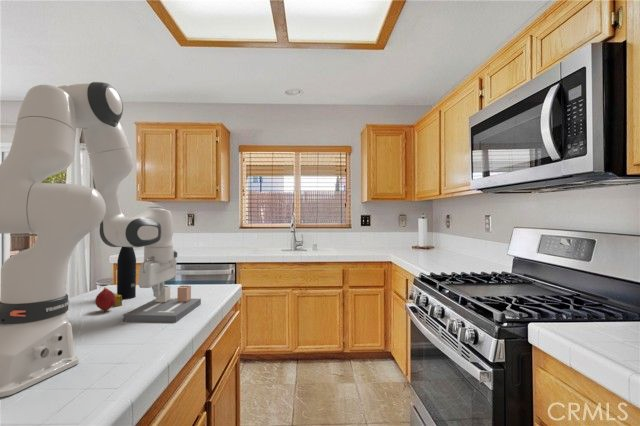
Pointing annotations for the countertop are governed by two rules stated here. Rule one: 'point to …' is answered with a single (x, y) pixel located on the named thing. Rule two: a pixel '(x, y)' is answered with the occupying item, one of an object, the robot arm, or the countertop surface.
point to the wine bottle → (126, 273)
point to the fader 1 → (164, 295)
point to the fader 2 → (184, 293)
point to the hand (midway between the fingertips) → (158, 296)
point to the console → (161, 311)
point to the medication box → (118, 300)
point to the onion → (105, 299)
